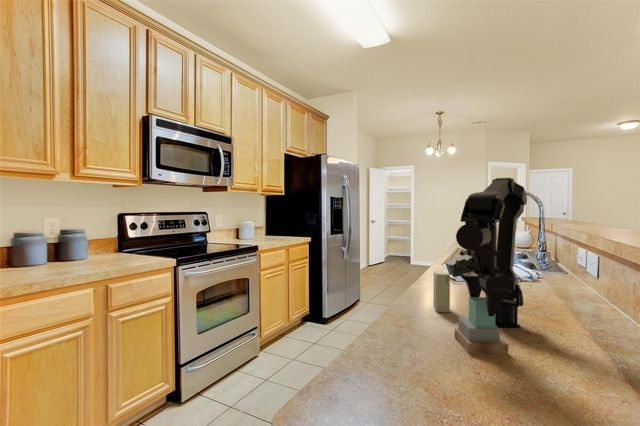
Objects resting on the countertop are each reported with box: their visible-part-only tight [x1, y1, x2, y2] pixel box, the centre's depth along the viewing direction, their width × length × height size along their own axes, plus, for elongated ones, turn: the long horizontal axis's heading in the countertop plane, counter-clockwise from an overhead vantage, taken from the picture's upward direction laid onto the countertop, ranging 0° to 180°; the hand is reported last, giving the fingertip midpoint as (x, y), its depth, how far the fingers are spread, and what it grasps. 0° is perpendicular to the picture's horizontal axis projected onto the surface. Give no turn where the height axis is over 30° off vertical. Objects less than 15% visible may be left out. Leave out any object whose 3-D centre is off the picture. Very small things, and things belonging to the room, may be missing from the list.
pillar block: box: [468, 296, 496, 328], centre depth 81 cm, size 4×4×6 cm
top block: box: [458, 317, 501, 342], centre depth 81 cm, size 7×7×3 cm
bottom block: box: [454, 328, 509, 355], centre depth 81 cm, size 9×9×3 cm
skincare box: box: [433, 270, 451, 313], centre depth 108 cm, size 6×4×12 cm
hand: (482, 309), depth 80 cm, fingers open, 9 cm apart
